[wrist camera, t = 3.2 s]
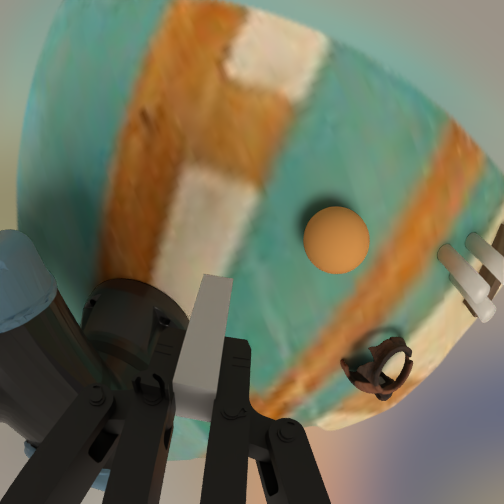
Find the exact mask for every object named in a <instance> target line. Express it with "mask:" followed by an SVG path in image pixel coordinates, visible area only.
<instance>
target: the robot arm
mask: <svg viewBox="0 0 504 504" xmlns="http://www.w3.org/2000/svg"><path fill="white" fill-rule="evenodd" d="M232 284H233V279H231V278H225V277H219V276H214V275H208V274H204V276H203V279H202V282H201V285H200V288H199V292H198V295H197V298H196V301H195V305H194V308H193V311H192V315H191V318H190V321H188V319H187V317H186V315H185V314H184V313H183V311H182V310H181V309H180V308H179V306H178V305H177V304H176V303H175V302H174V301H172V300H171V299H170V298H169V297H168V296H166V295H165V294H163V293H162V292H160V291H159V290H157V289H155V288H153V287H151V286H149V285H147V284H144V283H141V282H138V281H134V280H129V279H113V280H108V281H105V282H103V283H101V284H100V285H98V286H97V287H96V288H95V290H94V291H93V292H92V294H91V295H90V297H89V298H88V299H87V301H86V303H85V306H84V310H83V314H82V319H81V324H80V326H79V324H78V323H77V321H76V320H75V318H74V316H73V315H72V313H71V312H70V310H69V308H68V306H67V305H66V303H65V301H64V300H63V298H62V296H61V294H60V292H59V291H58V289H57V283H56V280H55V278H54V276H53V275H52V274H51V272H49V271H48V270H47V269H46V267H45V265H44V263H43V261H42V259H41V257H40V255H39V253H38V252H37V250H36V248H35V246H34V244H33V242H32V241H31V239H30V238H29V237H28V236H27V235H26V234H24V233H22V232H20V231H18V230H1V231H0V422H4V423H6V424H8V425H9V426H10V427H11V428H13V429H14V430H15V431H17V433H19V434H20V435H21V436H23V437H24V438H25V439H26V441H25V442H24V445H25V449H24V452H25V454H26V456H27V457H28V458H30V459H29V460H28V462H27V463H26V464H25V466H24V467H23V469H22V470H21V471H20V473H19V475H18V476H17V477H16V479H15V480H14V482H13V483H12V485H11V486H10V487H9V489H8V491H7V492H6V494H5V495H4V496H3V498H2V500H1V501H0V504H80V503H81V502H82V500H83V499H84V497H85V495H86V494H87V492H88V490H89V489H90V487H92V488H95V489H98V490H101V491H105V493H104V498H103V502H102V504H159V500H160V495H161V489H162V483H163V478H164V473H165V467H166V463H167V458H168V453H169V448H170V443H171V438H172V433H173V428H174V426H173V421H174V416H175V414H176V416H180V417H185V418H190V419H196V420H201V421H207V422H211V425H210V432H209V439H208V446H207V454H206V462H205V469H204V476H203V485H202V492H201V500H200V504H246V488H247V470H248V457H250V458H253V459H255V460H256V464H257V467H258V471H259V475H260V479H261V483H262V487H263V490H264V494H265V498H266V501H267V504H331V502H330V499H329V496H328V494H327V491H326V488H325V486H324V483H323V480H322V477H321V474H320V472H319V469H318V466H317V464H316V461H315V458H314V455H313V452H312V449H311V447H310V444H309V441H308V439H307V436H306V433H305V430H304V428H303V427H302V425H301V424H300V423H299V422H297V421H296V420H293V419H290V418H281V419H278V420H273V419H271V418H268V417H265V416H263V415H261V414H259V413H258V412H256V411H255V410H254V409H253V407H252V406H251V404H250V401H249V387H250V366H251V348H250V345H249V343H248V341H247V340H244V339H237V338H231V337H225V330H226V323H227V317H228V310H229V303H230V297H231V290H232Z"/></svg>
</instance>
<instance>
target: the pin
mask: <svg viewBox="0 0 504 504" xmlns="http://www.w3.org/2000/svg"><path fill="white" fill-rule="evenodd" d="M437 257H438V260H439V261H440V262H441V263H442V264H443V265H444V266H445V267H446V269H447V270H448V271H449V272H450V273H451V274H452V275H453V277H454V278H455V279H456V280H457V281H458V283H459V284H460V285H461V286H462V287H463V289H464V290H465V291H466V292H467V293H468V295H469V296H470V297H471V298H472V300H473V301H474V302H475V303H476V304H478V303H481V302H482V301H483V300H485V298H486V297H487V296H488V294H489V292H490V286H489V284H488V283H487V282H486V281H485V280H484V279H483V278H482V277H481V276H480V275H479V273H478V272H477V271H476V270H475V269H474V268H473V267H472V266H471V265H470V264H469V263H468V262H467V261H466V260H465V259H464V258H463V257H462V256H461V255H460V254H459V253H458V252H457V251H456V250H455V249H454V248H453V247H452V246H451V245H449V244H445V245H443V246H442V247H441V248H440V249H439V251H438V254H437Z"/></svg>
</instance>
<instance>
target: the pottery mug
mask: <svg viewBox="0 0 504 504" xmlns="http://www.w3.org/2000/svg"><path fill="white" fill-rule="evenodd" d="M368 349H369V350H370V351H371V353H372V356H373V358H374V362H368V363H366V364H364V365H361V366H359V367H358V369H357V371H356V372H352V371H349V368H348V365H347V364H345V362H344V360H341V366H342V368H343V370H344V372H345V374H346V376H347V378H348V379H349V380H350V382H351V383H352V384H353V385H354V386H355V387H356V388H358V389H360V390H361V391H364V392H366V393H372V394H375V395H376V397H377V398H378V399H379V400H381V401H386V400H388V399H389V398H390V397H391V396H392V393H393V392H394V391H396V390H397V389H398V388H400V387H401V385H403V383H404V382H405V381H406V379H407V378H408V376H409V374H410V372H411V369H412V366H413V361H412V360H409V357H411V355H412V350H411V349H410V348H409V347H407V346H406V343H405V341H404V339H403V338H400V337H390V338H389V339H387V340H385V341H383V342H382V343H381V344H380V345H378V346H376V347H369V348H368ZM401 351H403V352H404V353H405V363H404V367H403V369H402V371H401V373H400V374H399V376H398V377H397V378H396V381H394V380H393V379H391V378H389V377H388V376H386V375H385V374H384V373H383V372H382V371H381V370H382V368H383V366H384V364H385V363H386V362H387V360H388V359H389V358H390V357H391V356H392V355H394V354H395V353H397V352H401Z"/></svg>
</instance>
